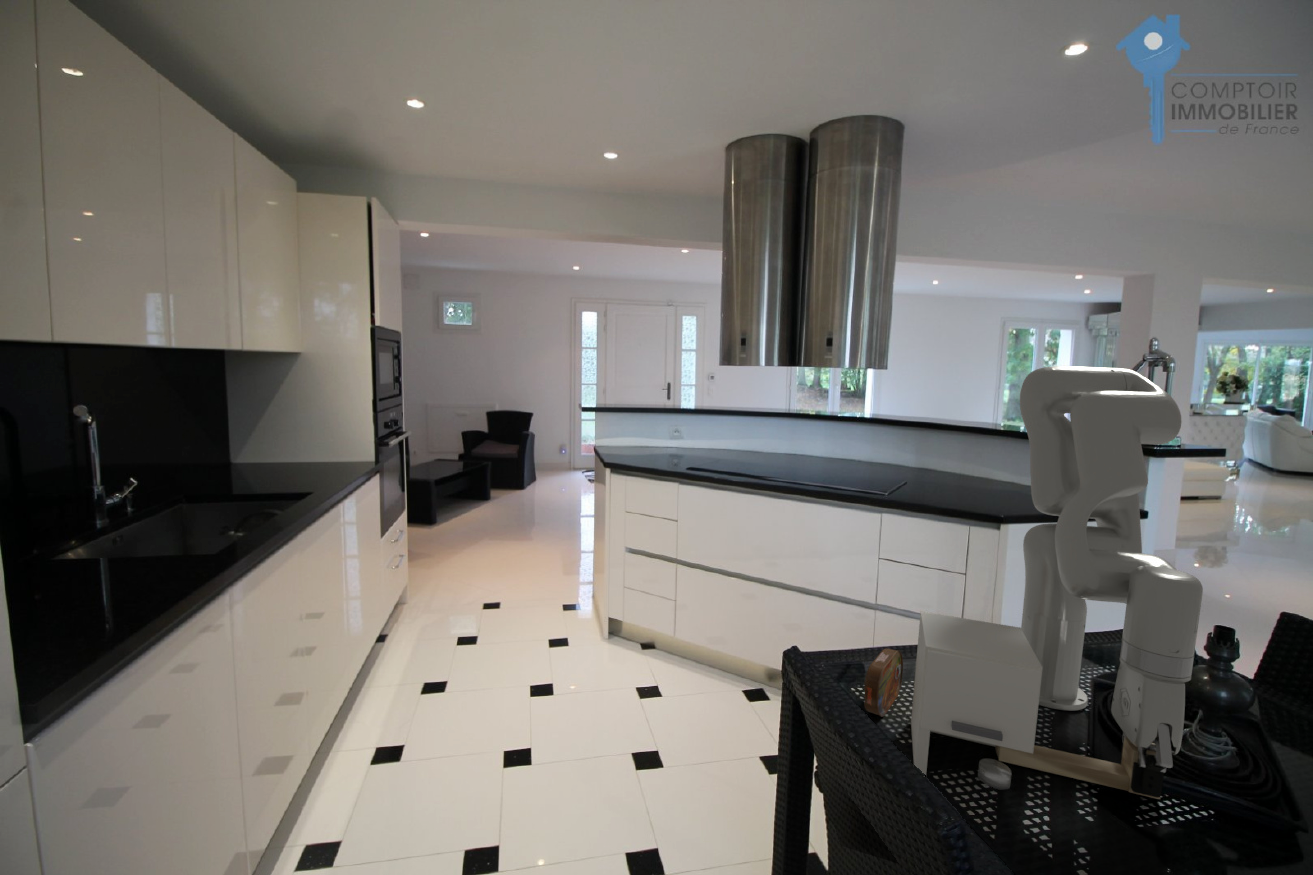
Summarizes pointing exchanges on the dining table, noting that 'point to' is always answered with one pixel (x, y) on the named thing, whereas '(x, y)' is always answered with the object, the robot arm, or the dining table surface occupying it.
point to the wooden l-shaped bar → (1078, 764)
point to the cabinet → (974, 685)
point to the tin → (883, 681)
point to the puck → (994, 774)
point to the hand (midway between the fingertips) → (1139, 782)
